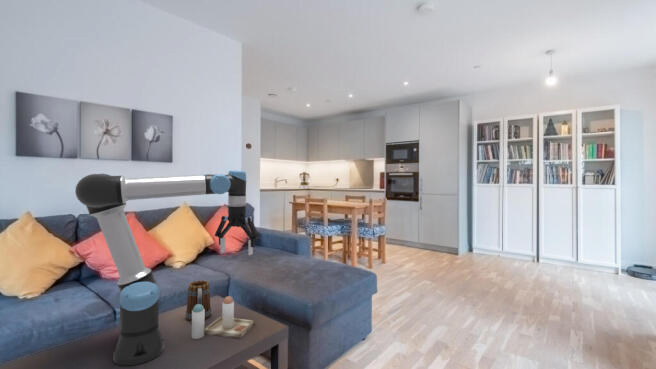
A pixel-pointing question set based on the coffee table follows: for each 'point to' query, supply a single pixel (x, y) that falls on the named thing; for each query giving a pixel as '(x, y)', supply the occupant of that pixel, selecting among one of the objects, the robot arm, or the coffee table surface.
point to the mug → (198, 298)
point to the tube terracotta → (228, 313)
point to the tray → (236, 332)
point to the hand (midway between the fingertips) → (236, 253)
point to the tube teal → (198, 321)
